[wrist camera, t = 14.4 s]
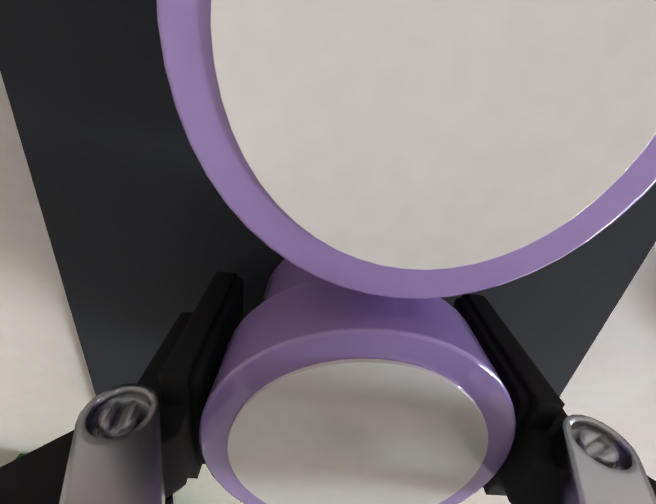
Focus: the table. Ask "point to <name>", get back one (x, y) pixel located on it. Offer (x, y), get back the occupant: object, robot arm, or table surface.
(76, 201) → the placemat
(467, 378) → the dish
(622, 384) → the table surface
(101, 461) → the robot arm
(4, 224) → the table surface
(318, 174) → the dish middle
